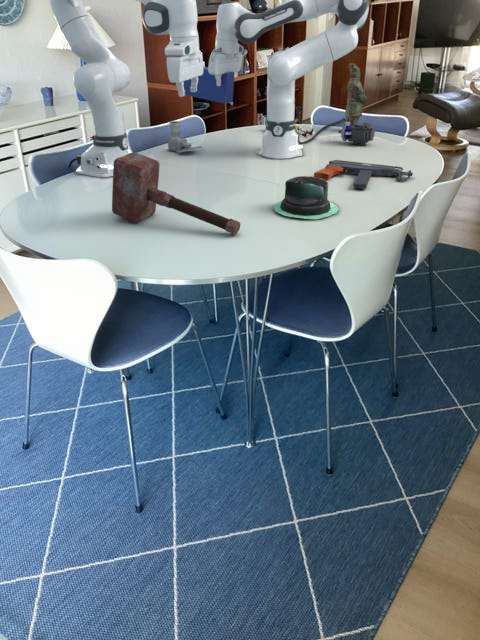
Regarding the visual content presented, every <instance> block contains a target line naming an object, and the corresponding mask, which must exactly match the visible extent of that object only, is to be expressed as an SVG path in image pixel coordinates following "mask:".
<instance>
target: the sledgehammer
mask: <svg viewBox="0 0 480 640" xmlns="http://www.w3.org/2000/svg"><path fill="white" fill-rule="evenodd" d="M160 165H161V164H160V162H159V161H158V160H157V159H154V158H151V157H149V156H146V155H144V154H142V153H138V152H136V151H133V152H129V154H127V155H125V156H122V157H119V158H117V159H116V160H115V161H114V169H113V176H112V192H111V193H112V195H111V212H112V213H113V214H114V215H116V216H117V217H121V218H122V219H125V220H128V221H129V222H132V223H134V224H139V223H140V222H143V221H144V220H146V219H148V218H150V217H152V216H153V215H155V213H156V210H157V205H158V206H161V207H165V208H168V209H173V210H174V211H177V212H180V213H182V214H185V215H187V216H190V217H193V218H195V219H197V220H200V221H202V222H204V223H206V224H210V225H211V226H215V227H217V228H220V229H222V230H225V232H227V233H230V234H231V235H234V236H235V235H237V234H238V233H239V231H240V228H241V221H239V220H236V219H233V218H228V217H225V216H223V215H220V214H218V213H215V212H212V211H210V210H207V209H206V208H203V207H200V206H197V205H195V204H192V203H190V202H187V201H185V200H183V199H180V198H177V197H175V196H174V195H172V194H170V193H168V192H166V191H165V190H161V189H159V180H160V179H159V178H160Z"/></svg>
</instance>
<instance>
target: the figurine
mask: <svg viewBox="0 0 480 640" xmlns="http://www.w3.org/2000/svg"><path fill="white" fill-rule="evenodd" d="M297 122H299V118H296V119H295V123H297ZM295 132H296V133H297V135H298V136H302V137H304V138H307V136H308V135H309V136H313V132H314V128H311V130H309V131H308V129H304V128H302V127H300V126H299V125H298V126H297V125H295Z"/></svg>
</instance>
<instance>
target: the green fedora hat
mask: <svg viewBox="0 0 480 640" xmlns="http://www.w3.org/2000/svg"><path fill="white" fill-rule="evenodd" d="M284 184H285V185H284V187H285V190H284V198H283V199H282V200H281V201H278V202H276V203H275V204H274V205H273V210H274V212H275V213H277V214H280V215H282V216H285V217H289V218H298V219H304V220H320V219H323V218H328V217H330V216H332V215H335V214H337V212H338V210H339V208H338V206H337V204H334V203H333V202H331V201H329V200H328V195H329V182H328V181H327V180H324V179H322V178H317V177H314V176H309V175H308V176H307V175H306V176H305V175H302V176H295V177H292V178H289V179H287V180H285V183H284Z"/></svg>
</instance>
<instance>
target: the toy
mask: <svg viewBox="0 0 480 640" xmlns="http://www.w3.org/2000/svg"><path fill="white" fill-rule="evenodd" d="M357 124H358V123H357ZM357 124H355V125H354V127H352V124H350V122H346V121H345V122H344V123H343V126H342V128H341V129H339V130H338V134H340V137H341V139H342V141H343V142H346V141H348V142H349V143H352V145H358V146H359V145H360V146H366V144H367V143H369V142H373V140H374V138H375V133H376V129H375V127H374V126H372V123H370V122H363V124H358V125H357Z"/></svg>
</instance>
